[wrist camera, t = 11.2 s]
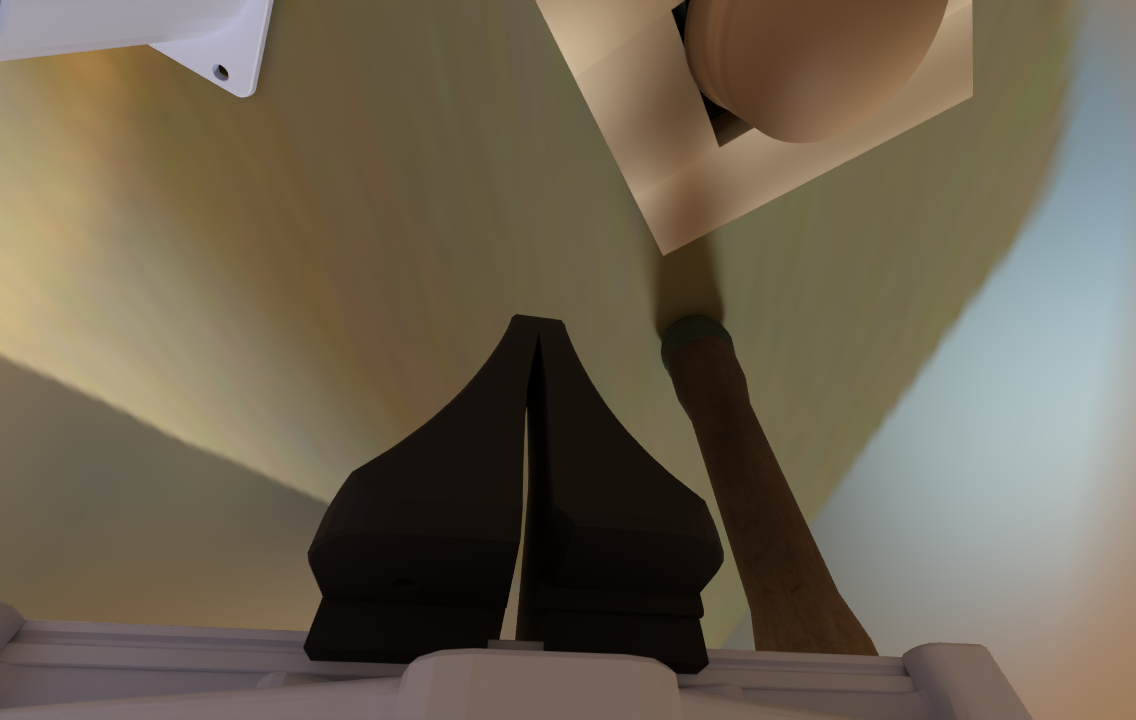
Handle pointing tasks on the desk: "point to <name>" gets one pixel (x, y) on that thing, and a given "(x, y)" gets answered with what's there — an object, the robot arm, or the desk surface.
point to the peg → (807, 59)
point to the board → (727, 143)
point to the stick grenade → (757, 502)
